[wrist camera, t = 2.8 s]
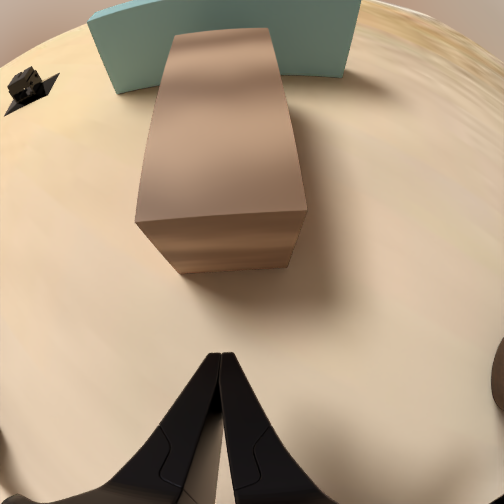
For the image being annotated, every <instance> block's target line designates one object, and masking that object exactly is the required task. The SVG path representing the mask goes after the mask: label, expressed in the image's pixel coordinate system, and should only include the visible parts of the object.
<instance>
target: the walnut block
mask: <svg viewBox="0 0 504 504" xmlns="http://www.w3.org/2000/svg"><path fill="white" fill-rule="evenodd" d="M306 213H307V204H306V198H305V192H304V186H303V180H302V175H301V169H300V164H299V159H298V153H297V148H296V143H295V138H294V133H293V129H292V124H291V119H290V114H289V110H288V105H287V101H286V97H285V92H284V88H283V84H282V80H281V75H280V71H279V67H278V63H277V59H276V56H275V52H274V48H273V44H272V40H271V37H270V33H269V29H268V28H239V29H224V30H212V31H203V32H195V33H187V34H181V35H175V36H174V39H173V42H172V46H171V49H170V52H169V55H168V58H167V62H166V65H165V69H164V72H163V76H162V79H161V83H160V87H159V91H158V95H157V99H156V103H155V107H154V111H153V115H152V120H151V124H150V129H149V134H148V139H147V144H146V149H145V155H144V160H143V166H142V172H141V178H140V185H139V192H138V199H137V207H136V215H135V223H136V224H137V226H138V227H139V228H140V229H141V230H142V232H143V233H144V234H145V235H146V236H147V238H148V239H149V240H150V241H151V242H152V243H153V245H154V246H155V247H156V248H157V249H158V250H159V252H160V253H161V254H162V255H163V256H164V257H165V259H166V260H167V261H168V262H169V263H170V264H171V265H172V267H173V268H174V269H175V270H176V271H177V272H178V273H179V274H186V273H205V272H222V271H239V270H256V269H271V268H286V267H287V266H288V263H289V261H290V258H291V255H292V252H293V250H294V247H295V244H296V241H297V239H298V236H299V233H300V230H301V227H302V225H303V222H304V219H305V216H306Z"/></svg>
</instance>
